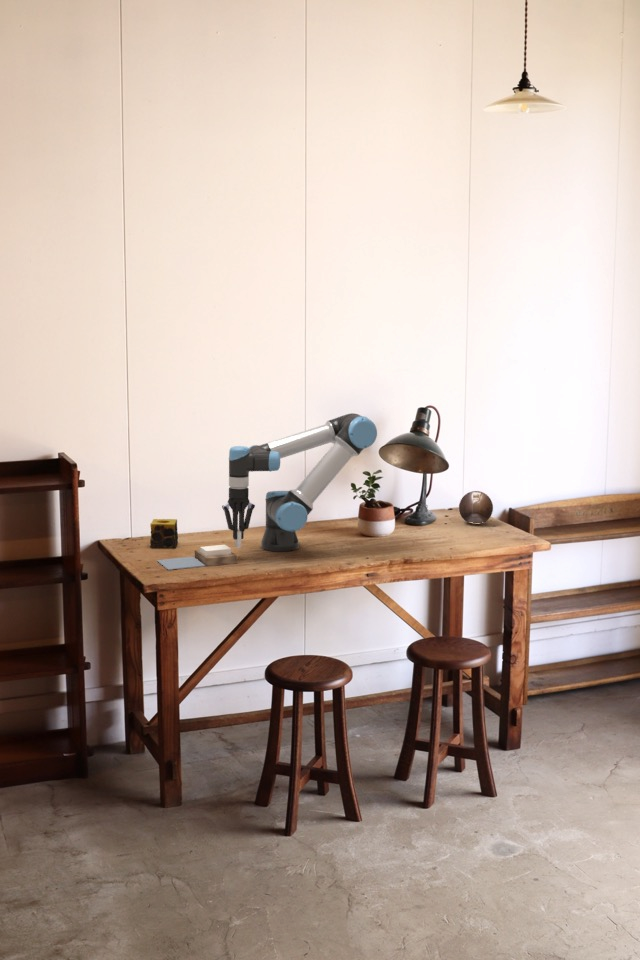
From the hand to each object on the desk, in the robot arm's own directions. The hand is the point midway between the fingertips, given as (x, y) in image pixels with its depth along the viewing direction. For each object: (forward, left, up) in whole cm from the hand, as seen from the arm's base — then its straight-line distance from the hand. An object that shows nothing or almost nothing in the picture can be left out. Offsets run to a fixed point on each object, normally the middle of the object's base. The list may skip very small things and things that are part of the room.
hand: (238, 547), depth 408 cm
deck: (+9, 0, -4) cm, 10 cm away
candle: (+20, -30, -5) cm, 36 cm away
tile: (+9, 0, -1) cm, 9 cm away
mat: (+23, 0, -4) cm, 23 cm away
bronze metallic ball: (-120, -17, -5) cm, 121 cm away
